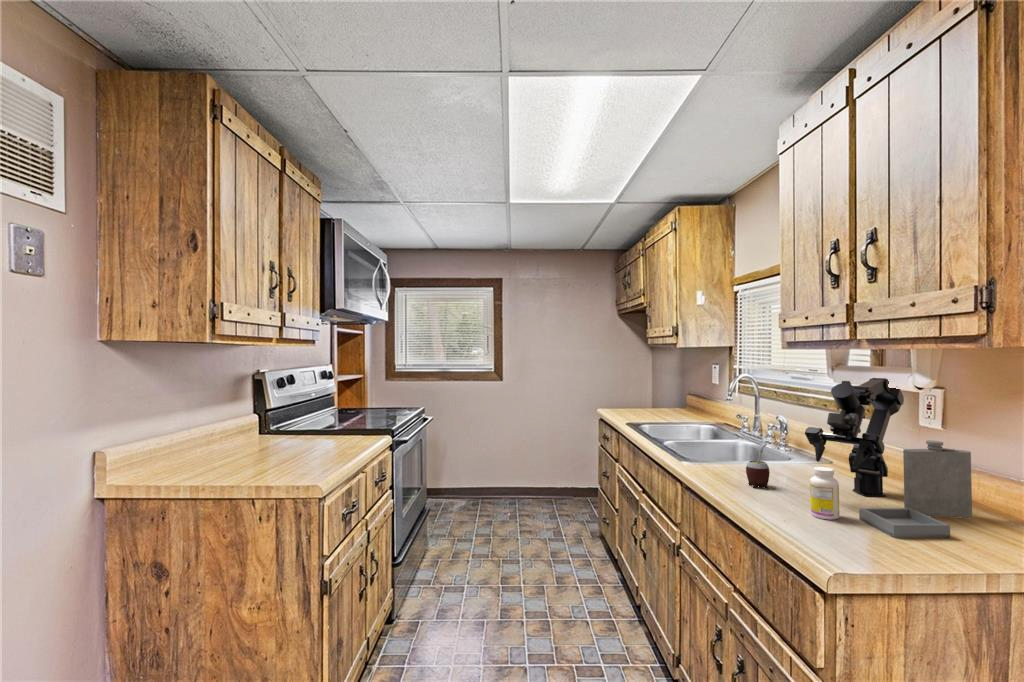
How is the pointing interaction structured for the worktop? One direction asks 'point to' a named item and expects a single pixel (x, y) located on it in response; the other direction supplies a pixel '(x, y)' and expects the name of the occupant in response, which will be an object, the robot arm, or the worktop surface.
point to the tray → (904, 523)
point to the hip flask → (938, 481)
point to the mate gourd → (758, 472)
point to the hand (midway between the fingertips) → (835, 463)
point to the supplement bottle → (824, 494)
